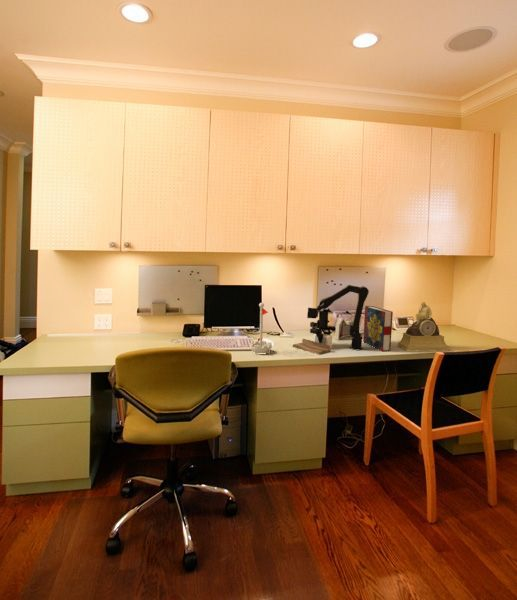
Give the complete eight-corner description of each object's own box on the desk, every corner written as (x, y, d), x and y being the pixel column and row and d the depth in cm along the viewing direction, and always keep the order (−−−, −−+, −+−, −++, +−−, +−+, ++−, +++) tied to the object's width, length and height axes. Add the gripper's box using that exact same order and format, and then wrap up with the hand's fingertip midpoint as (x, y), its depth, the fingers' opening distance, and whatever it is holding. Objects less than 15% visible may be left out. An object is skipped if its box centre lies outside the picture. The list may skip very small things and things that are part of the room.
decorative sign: (349, 337, 289) (351, 317, 289) (352, 337, 288) (354, 317, 287) (334, 339, 271) (336, 318, 270) (337, 340, 270) (339, 318, 269)
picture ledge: (303, 344, 256) (303, 338, 255) (329, 351, 239) (329, 345, 239) (292, 346, 249) (292, 340, 249) (318, 354, 233) (319, 347, 232)
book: (361, 342, 266) (362, 305, 263) (370, 341, 268) (372, 305, 264) (381, 351, 242) (383, 312, 238) (391, 351, 243) (393, 311, 240)
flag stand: (245, 351, 236) (246, 302, 232) (259, 348, 246) (260, 300, 242) (261, 356, 227) (262, 305, 223) (275, 352, 237) (277, 302, 233)
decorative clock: (406, 351, 244) (410, 303, 240) (397, 346, 257) (400, 300, 253) (449, 350, 247) (453, 303, 243) (438, 345, 260) (442, 300, 256)
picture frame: (317, 344, 257) (317, 332, 256) (331, 348, 248) (332, 335, 247) (313, 345, 254) (313, 333, 253) (327, 349, 245) (327, 336, 244)
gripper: (323, 315, 261) (322, 338, 263) (304, 318, 249) (303, 342, 251) (336, 318, 252) (335, 341, 255) (317, 321, 241) (316, 346, 243)
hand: (322, 342), depth 251 cm, fingers closed on picture frame, 4 cm apart
